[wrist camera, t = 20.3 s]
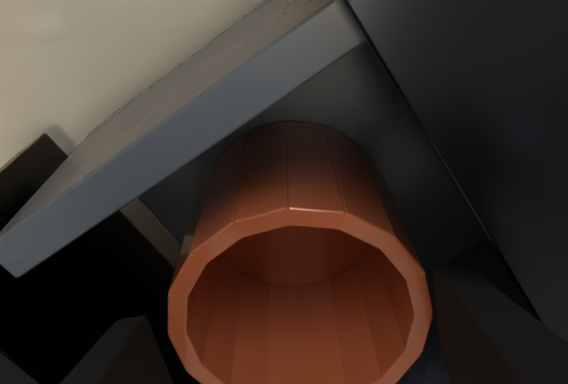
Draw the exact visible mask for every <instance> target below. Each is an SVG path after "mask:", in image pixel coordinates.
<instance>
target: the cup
mask: <svg viewBox="0 0 568 384" xmlns="http://www.w3.org/2000/svg"><path fill="white" fill-rule="evenodd" d="M432 317H433V307H432V302H431V297H430V293H429V288H428V283H427V279H426V274H425V271H424V269H423V267H422V264H421V262H420V260H419V257H418V255H417V253H416V250H415V248H414V246H413V243H412V241H411V239H410V236H409V234H408V232H407V229H406V227H405V225H404V222H403V220H402V218H401V215H400V213H399V211H398V208H397V206H396V204H395V201H394V199H393V197H392V194H391V192H390V190H389V188H388V185H387V183H386V181H385V178H384V176H383V175H382V173H381V172H380V171H379V169H378V167H377V165H376V164H375V162H374V161H373V159H372V158H371V156H370V155H369V154H368V153H367V152H366V151H365V150H364V149H363V148H362V147H361V146H360V145H359V144H358V143H357V142H355V141H354V140H353V139H351V138H350V137H348V136H347V135H345V134H343V133H342V132H339V131H337V130H335V129H333V128H330V127H327V126H324V125H320V124H316V123H310V122H302V121H287V122H277V123H273V124H268V125H264V126H261V127H259V128H256V129H253V130H251V131H249V132H247V133H245V134H243V135H241V136H240V137H238V138H237V139H235V140H234V141H232V142H231V143H230V144H229V145H228V146H227V147H225V148H224V149H223V150H222V151H221V152H220V154H219V155H218V156H217V157H216V158H215V160H214V161H213V163H212V164H211V166H210V167H209V169H208V171H207V173H206V176H205V178H204V180H203V183H202V186H201V187H200V189H199V191H198V194H197V198H196V201H195V204H194V208H193V211H192V214H191V218H190V221H189V224H188V228H187V231H186V235H185V238H184V241H183V245H182V248H181V251H180V255H179V258H178V261H177V265H176V268H175V272H174V275H173V278H172V282H171V285H170V288H169V292H168V336H169V338H170V340H171V342H172V344H173V346H174V348H175V350H176V352H177V354H178V356H179V358H180V360H181V362H182V364H183V366H184V368H185V370H186V371H187V372H188V373H189V374H190V375H191V376H192V377H194V378H195V379H196V380H197V381H198V382H200V383H201V384H396V383H397V382H398V381H399V380H400V379H401V377H402V376H403V375H404V374H405V373H406V372H407V370H408V369H409V368H410V367H411V366H412V365H413V363H414V362H415V361H416V360H417V359H418V358H419V356H420V355H421V353H422V352H423V348H424V345H425V341H426V338H427V335H428V331H429V328H430V324H431V321H432Z"/></svg>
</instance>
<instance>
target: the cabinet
mask: <svg viewBox="0 0 568 384" xmlns="http://www.w3.org/2000/svg"><path fill="white" fill-rule="evenodd" d="M341 1H342V3H343V4H344V6H345V8H346V9H347V11H348V12H349V14H350V16H351V17H352V19H353V21H354V22H355V24H356V25H357V27H358V29H359V30H360V32H361V34H362V35H363V37H364V39H365V40H366V42H367V43H368V45H369V47H370V48H371V50H372V52H373V53H374V55H375V57H376V58H377V60H378V61H379V63H380V65H381V66H382V68H383V70H384V71H385V73H386V74H387V76H388V78H389V79H390V81H391V83H392V84H393V86H394V88H395V89H396V91H397V92H398V94H399V96H400V97H401V99H402V101H403V102H404V104H405V105H406V107H407V109H408V110H409V112H410V114H411V115H412V117H413V119H414V120H415V122H416V123H417V125H418V127H419V128H420V130H421V132H422V133H423V135H424V137H425V138H426V140H427V141H428V143H429V145H430V146H431V148H432V150H433V151H434V153H435V154H436V156H437V158H438V159H439V161H440V163H441V164H442V166H443V168H444V169H445V171H446V172H447V174H448V176H449V177H450V179H451V181H452V182H453V184H454V186H455V187H456V189H457V190H458V192H459V194H460V195H461V197H462V199H463V200H464V202H465V203H466V205H467V207H468V208H469V210H470V212H471V213H472V215H473V217H474V218H475V220H476V221H477V223H478V225H479V226H480V228H481V230H482V231H483V233H484V234H485V236H486V238H487V239H488V241H489V243H490V244H491V246H492V248H493V249H494V251H495V252H496V254H497V256H498V257H499V259H500V261H501V262H502V264H503V266H504V267H505V269H506V270H507V272H508V274H509V275H510V277H511V279H512V280H513V282H514V283H515V285H516V287H517V288H518V290H519V292H520V293H521V295H522V297H523V298H524V300H525V301H526V303H527V305H528V306H529V308H530V310H531V311H532V313H533V314H534V316H535V318H536V319H537V320H538V321H540V322H541V323H542V324H544V325H545V326H546V327H548V328H549V329H551V330H552V331H553V332H555V333H556V334H558V335H559V336H560V337H562V338H563V339H565V340H566V341H568V0H341Z"/></svg>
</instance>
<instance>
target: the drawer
mask: <svg viewBox="0 0 568 384" xmlns="http://www.w3.org/2000/svg"><path fill="white" fill-rule="evenodd" d="M287 121H302V122H310V123H316V124H320V125H324V126H327V127H330V128H333V129H335V130H337V131H339V132H342V133H343V134H345V135H347V136H348V137H350V138H351V139H353V140H354V141H355V142H357V143H358V144H359V145H360V146H361V147H362V148H363V149H364V150H365V151H366V152H367V153H368V154H369V155H370V156H371V158H372V159H373V161H374V162H375V164H376V165H377V167H378V169H379V171H380V172H381V173H382V175H383V176H384V178H385V181H386V183H387V185H388V188H389V190H390V192H391V194H392V197H393V199H394V201H395V204H396V206H397V208H398V211H399V213H400V215H401V218H402V220H403V222H404V225H405V227H406V229H407V232H408V234H409V236H410V239H411V241H412V243H413V246H414V248H415V250H416V253H417V255H418V257H419V260H420V262H421V264H422V267H423V269H424V271H425V274H426V279H427V283H428V288H429V293H430V297H431V302H432V307H433V317H432V321H431V324H430V328H429V331H428V335H427V338H426V341H425V345H424V348H423V352H422V353H421V355H420V356H419V358H418V359H417V360H416V361H415V362H414V363H413V365H412V366H411V367H410V368H409V369H408V370H407V372H406V373H405V374H404V375H403V376H402V377H401V379H400V380H399V381H398V382H397V383H396V384H452V382H451V379H450V375H449V372H448V369H447V366H446V363H445V360H444V357H443V354H442V351H441V347H440V344H439V335H438V325H437V314H436V303H435V293H434V282H433V271H432V266H433V265H439V264H445V263H451V262H457V261H464V262H466V263H467V264H469V265H470V266H471V267H472V268H473V269H475V270H476V271H477V272H478V273H479V274H480V275H482V276H483V277H484V278H485V279H486V280H488V281H489V282H490V283H491V284H492V285H494V286H495V287H496V288H497V289H498V290H500V291H501V292H502V293H503V294H505V295H506V296H507V297H508V298H510V299H511V300H512V301H513V302H515V303H516V304H517V305H518V306H520V307H521V308H522V309H524V310H525V311H526V312H528V313H529V314H530V315H532V316H533V317H534V318H535V316H534V314H533V313H532V311H531V310H530V308H529V306H528V305H527V303H526V301H525V300H524V298H523V297H522V295H521V293H520V292H519V290H518V288H517V287H516V285H515V283H514V282H513V280H512V279H511V277H510V275H509V274H508V272H507V270H506V269H505V267H504V266H503V264H502V262H501V261H500V259H499V257H498V256H497V254H496V252H495V251H494V249H493V248H492V246H491V244H490V243H489V241H488V239H487V238H486V236H485V234H484V233H483V231H482V230H481V228H480V226H479V225H478V223H477V221H476V220H475V218H474V217H473V215H472V213H471V212H470V210H469V208H468V207H467V205H466V203H465V202H464V200H463V199H462V197H461V195H460V194H459V192H458V190H457V189H456V187H455V186H454V184H453V182H452V181H451V179H450V177H449V176H448V174H447V172H446V171H445V169H444V168H443V166H442V164H441V163H440V161H439V159H438V158H437V156H436V154H435V153H434V151H433V150H432V148H431V146H430V145H429V143H428V141H427V140H426V138H425V137H424V135H423V133H422V132H421V130H420V128H419V127H418V125H417V123H416V122H415V120H414V119H413V117H412V115H411V114H410V112H409V110H408V109H407V107H406V105H405V104H404V102H403V101H402V99H401V97H400V96H399V94H398V92H397V91H396V89H395V88H394V86H393V84H392V83H391V81H390V79H389V78H388V76H387V74H386V73H385V71H384V70H383V68H382V66H381V65H380V63H379V61H378V60H377V58H376V57H375V55H374V53H373V52H372V50H371V48H370V47H369V45H368V43H367V42H366V40H365V39H364V37H363V35H362V34H361V32H360V30H359V29H358V27H357V25H356V24H355V22H354V21H353V19H352V17H351V16H350V14H349V12H348V11H347V9H346V8H345V6H344V4H343V3H342V1H341V0H267V1H266V2H264V3H263V4H262V5H260V6H259V7H258V8H256V9H255V10H254V11H252V12H251V13H249V14H248V15H247V16H245V17H244V18H243V19H241V20H240V21H239V22H237V23H236V24H235V25H233V26H232V27H231V28H229V29H228V30H227V31H225V32H224V33H223V34H221V35H220V36H218V37H217V38H216V39H214V40H213V41H212V42H210V43H209V44H208V45H206V46H205V47H204V48H202V49H201V50H200V51H198V52H197V53H196V54H194V55H193V56H192V57H190V58H189V59H188V60H186V61H185V62H183V63H182V64H181V65H179V66H178V67H177V68H175V69H174V70H173V71H171V72H170V73H169V74H167V75H166V76H165V77H163V78H162V79H161V80H159V81H158V82H157V83H155V84H154V85H152V86H151V87H150V88H148V89H147V90H146V91H144V92H143V93H142V94H140V95H139V96H138V97H136V98H135V99H134V100H132V101H131V102H130V103H128V104H127V105H126V106H124V107H123V108H121V109H120V110H119V111H117V112H116V113H115V114H113V115H112V116H111V117H109V118H108V119H107V120H105V121H104V122H103V123H101V124H100V125H99V126H97V127H96V128H95V129H93V130H92V132H91V133H90V134H89V135H88V136H87V137H86V138H85V139H84V140H83V141H82V142H81V143H80V144H79V146H78V147H77V148H76V149H75V150H74V151H73V152H72V153H71V154H70V155H69V157H68V156H67V155H66V154H65V153H64V152H63V151H62V150H61V149H60V148H59V147H58V146H57V144H56V143H55V142H54V141H53V140H52V139H51V138H50V137H49V136H48V135H47V134H46V133H44V134H42V135H41V136H40V137H38V138H37V139H36V140H35V141H33V142H32V143H31V144H29V145H28V146H27V147H25V148H24V149H23V150H21V151H20V152H19V153H17V154H16V155H15V156H14V157H13V158H12V159H11V160H9V161H8V162H7V163H6V164H5V165H4V166H3V167H1V168H0V384H60V383H61V382H62V381H63V380H64V378H65V377H66V376H67V375H68V374H69V373H70V372H71V371H72V370H73V368H74V367H75V366H76V365H77V364H78V363H79V362H80V361H81V360H82V358H83V357H84V356H85V355H86V354H87V353H88V352H89V350H90V349H91V348H92V347H93V346H94V345H95V344H96V343H97V341H98V340H99V339H100V338H101V337H102V336H103V335H104V334H105V333H106V331H107V330H108V329H109V328H110V327H111V326H112V325H113V324H114V323H115V322H116V321H117V320H119V319H125V318H131V317H137V316H143V315H146V317H147V319H148V322H149V324H150V327H151V329H152V332H153V334H154V337H155V339H156V342H157V344H158V347H159V349H160V352H161V354H162V357H163V359H164V362H165V364H166V367H167V369H168V372H169V374H170V377H171V379H172V382H173V384H201V383H200V382H198V381H197V380H196V379H195V378H194V377H192V376H191V375H190V374H189V373H188V372H187V371H186V370H185V368H184V366H183V364H182V362H181V360H180V358H179V356H178V354H177V352H176V350H175V348H174V346H173V344H172V342H171V340H170V338H169V336H168V292H169V288H170V285H171V282H172V278H173V275H174V272H175V268H174V267H173V266H172V265H171V264H170V263H169V262H168V261H167V260H166V259H165V258H164V257H163V256H162V255H161V254H160V253H159V252H158V250H157V249H156V248H155V247H154V246H153V245H152V244H151V243H150V242H149V241H148V240H147V239H146V238H145V237H144V236H143V235H142V234H141V233H140V232H139V231H138V229H137V228H136V227H135V226H134V225H133V224H132V223H131V222H130V221H129V220H128V219H127V218H126V217H125V216H124V215H123V214H122V213H121V212H120V211H119V209H121V208H122V207H124V206H125V205H127V204H128V203H130V202H131V201H133V200H134V199H136V198H137V197H138V198H139V199H140V200H141V201H142V202H143V203H144V204H145V205H146V206H147V207H148V209H149V210H150V211H151V212H152V213H153V214H154V215H155V216H156V217H157V218H158V219H159V220H160V222H161V223H162V224H163V225H164V226H165V227H166V228H167V229H168V230H169V231H170V232H171V233H172V235H173V236H174V237H175V238H176V239H177V240H178V241H179V242H180V243H181V244H182V245H183V241H184V238H185V235H186V231H187V228H188V224H189V221H190V218H191V214H192V211H193V208H194V204H195V201H196V198H197V194H198V191H199V189H200V187H201V186H202V183H203V180H204V178H205V176H206V173H207V171H208V169H209V167H210V166H211V164H212V163H213V161H214V160H215V158H216V157H217V156H218V155H219V154H220V152H221V151H222V150H223V149H224V148H225V147H227V146H228V145H229V144H230V143H231V142H232V141H234V140H235V139H237V138H238V137H240V136H241V135H243V134H245V133H247V132H249V131H251V130H253V129H256V128H259V127H261V126H264V125H268V124H273V123H277V122H287Z"/></svg>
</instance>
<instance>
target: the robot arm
mask: <svg viewBox="0 0 568 384" xmlns="http://www.w3.org/2000/svg"><path fill="white" fill-rule="evenodd" d="M432 271H433V282H434V293H435V303H436V314H437V325H438V335H439V344H440V347H441V351H442V354H443V357H444V360H445V363H446V366H447V369H448V372H449V375H450V379H451V382H452V384H568V341H566V340H565V339H563V338H562V337H560V336H559V335H558V334H556V333H555V332H553V331H552V330H551V329H549V328H548V327H546V326H545V325H544V324H542V323H541V322H540V321H538V320H537V319H536V318H534V317H533V316H532V315H530V314H529V313H528V312H526V311H525V310H524V309H522V308H521V307H520V306H518V305H517V304H516V303H515V302H513V301H512V300H511V299H510V298H508V297H507V296H506V295H505V294H503V293H502V292H501V291H500V290H498V289H497V288H496V287H495V286H494V285H492V284H491V283H490V282H489V281H488V280H486V279H485V278H484V277H483V276H482V275H480V274H479V273H478V272H477V271H476V270H475V269H473V268H472V267H471V266H470V265H469V264H467V263H466V262H464V261H457V262H451V263H445V264H439V265H433V266H432ZM60 384H173V382H172V379H171V377H170V374H169V372H168V369H167V367H166V364H165V362H164V359H163V357H162V354H161V352H160V349H159V347H158V344H157V342H156V339H155V337H154V334H153V332H152V329H151V327H150V324H149V322H148V319H147V317H146V315H143V316H137V317H131V318H125V319H119V320H117V321H116V322H115V323H114V324H113V325H112V326H111V327H110V328H109V329H108V330H107V331H106V333H105V334H104V335H103V336H102V337H101V338H100V339H99V340H98V341H97V343H96V344H95V345H94V346H93V347H92V348H91V349H90V350H89V352H88V353H87V354H86V355H85V356H84V357H83V358H82V360H81V361H80V362H79V363H78V364H77V365H76V366H75V367H74V368H73V370H72V371H71V372H70V373H69V374H68V375H67V376H66V377H65V378H64V380H63V381H62V382H61V383H60Z"/></svg>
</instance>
